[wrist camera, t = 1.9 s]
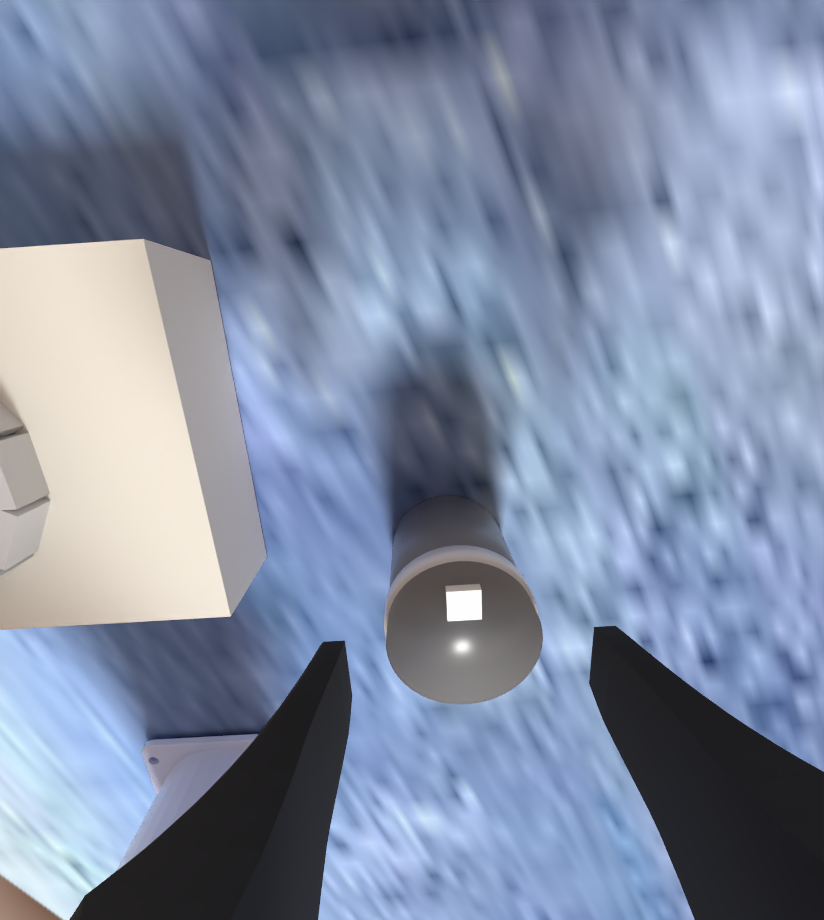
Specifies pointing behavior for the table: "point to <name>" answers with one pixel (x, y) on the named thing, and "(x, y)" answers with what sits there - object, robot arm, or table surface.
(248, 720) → the table surface
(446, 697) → the lens
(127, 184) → the table surface
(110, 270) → the camera body
